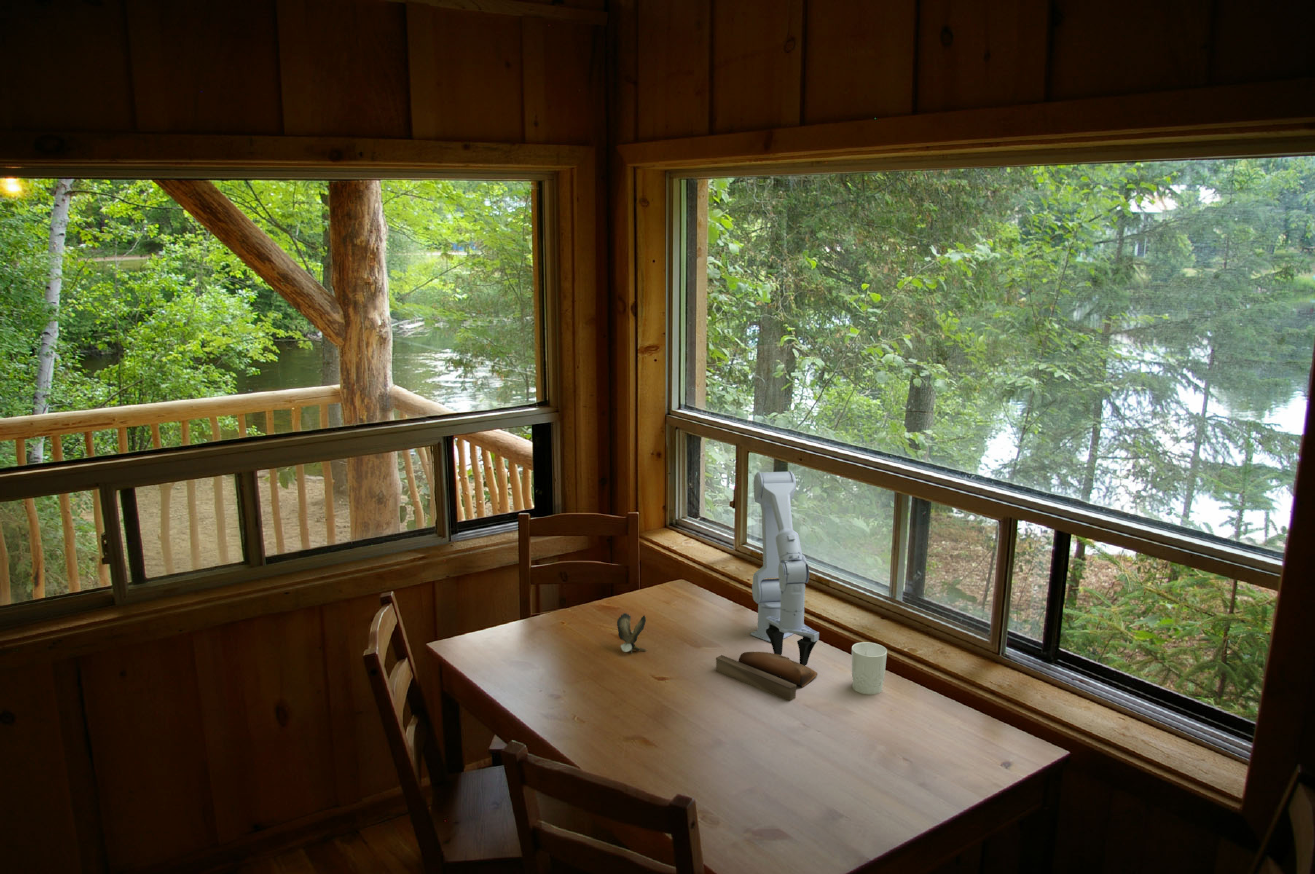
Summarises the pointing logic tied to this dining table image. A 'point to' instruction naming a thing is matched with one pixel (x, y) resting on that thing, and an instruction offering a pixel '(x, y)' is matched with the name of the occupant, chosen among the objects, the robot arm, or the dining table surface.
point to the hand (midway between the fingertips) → (790, 660)
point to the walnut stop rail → (756, 677)
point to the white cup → (868, 667)
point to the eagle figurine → (629, 632)
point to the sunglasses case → (779, 667)
